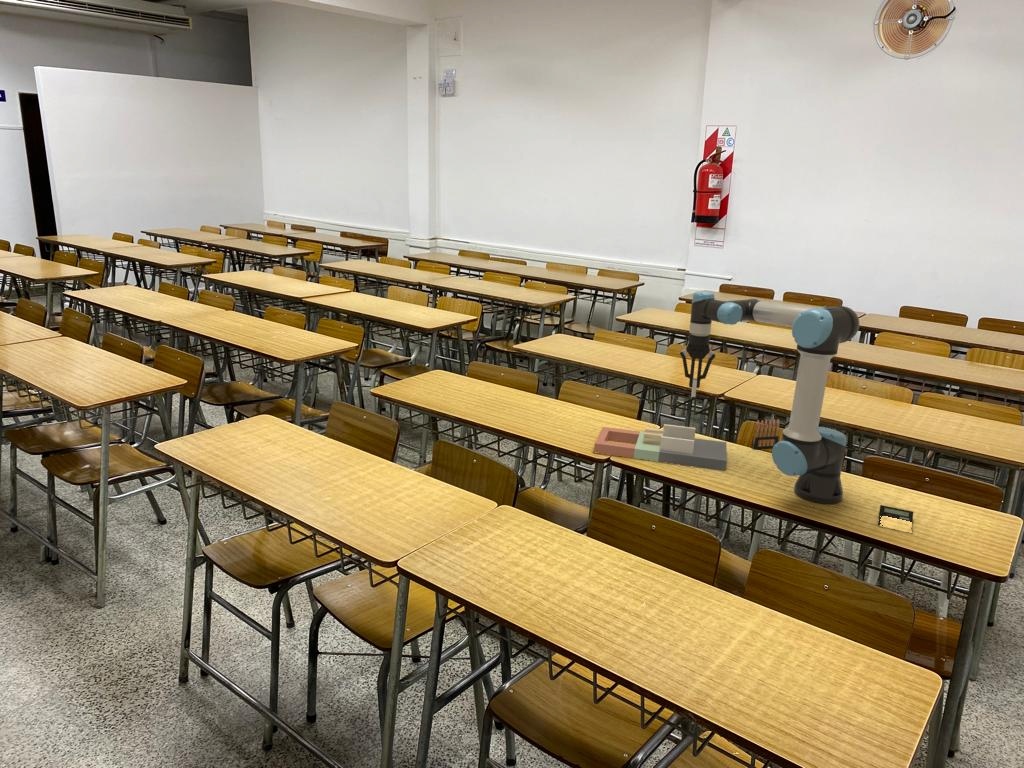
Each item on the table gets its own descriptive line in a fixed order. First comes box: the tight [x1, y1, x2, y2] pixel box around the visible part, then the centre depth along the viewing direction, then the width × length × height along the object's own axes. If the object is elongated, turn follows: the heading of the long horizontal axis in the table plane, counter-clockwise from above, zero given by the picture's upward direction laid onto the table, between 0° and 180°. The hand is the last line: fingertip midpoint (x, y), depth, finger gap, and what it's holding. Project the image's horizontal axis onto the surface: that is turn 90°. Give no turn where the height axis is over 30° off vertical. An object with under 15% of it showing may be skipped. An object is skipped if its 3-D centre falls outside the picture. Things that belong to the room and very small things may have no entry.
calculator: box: [877, 504, 914, 526], centre depth 223 cm, size 9×12×3 cm
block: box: [643, 427, 664, 446], centre depth 273 cm, size 7×7×4 cm
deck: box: [593, 424, 728, 472], centre depth 272 cm, size 20×48×9 cm, turn 74°
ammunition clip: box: [751, 418, 780, 451], centre depth 281 cm, size 11×2×12 cm, turn 103°
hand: (693, 395), depth 268 cm, fingers closed
